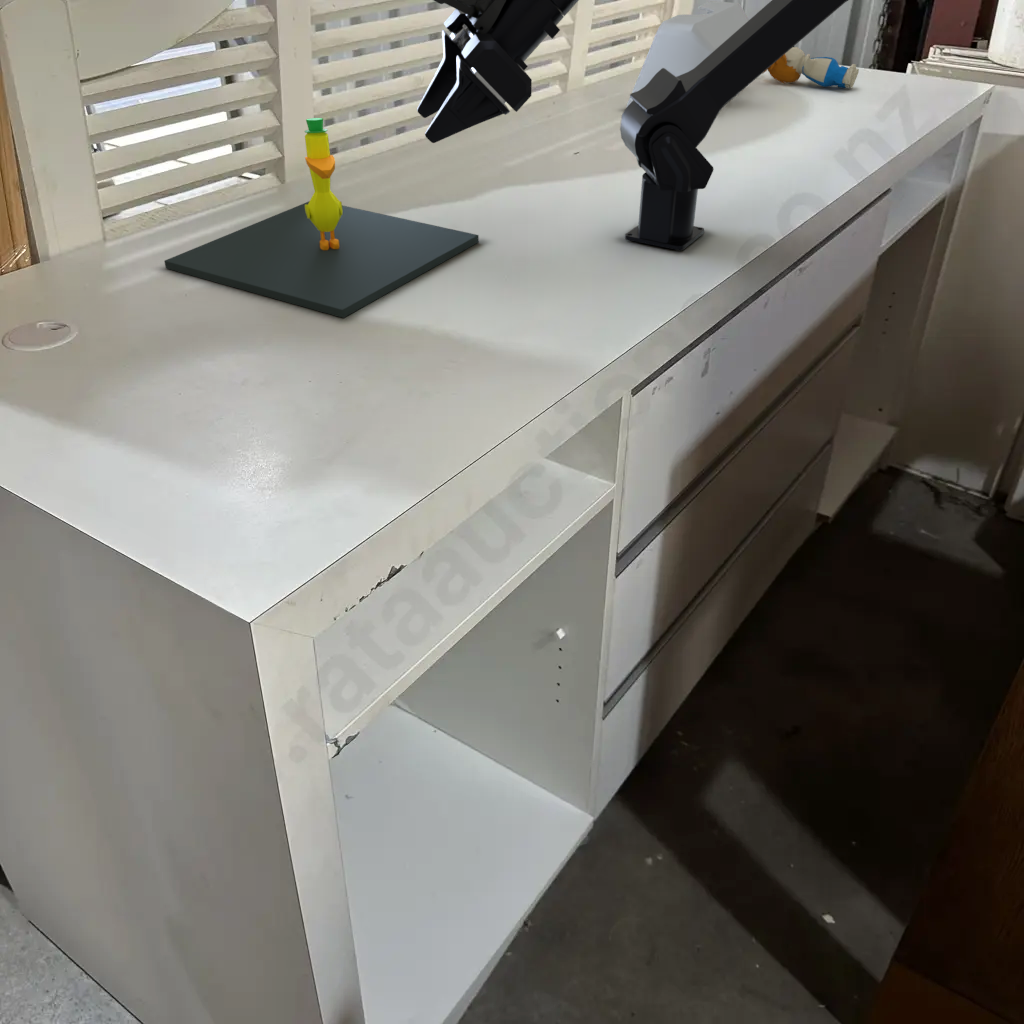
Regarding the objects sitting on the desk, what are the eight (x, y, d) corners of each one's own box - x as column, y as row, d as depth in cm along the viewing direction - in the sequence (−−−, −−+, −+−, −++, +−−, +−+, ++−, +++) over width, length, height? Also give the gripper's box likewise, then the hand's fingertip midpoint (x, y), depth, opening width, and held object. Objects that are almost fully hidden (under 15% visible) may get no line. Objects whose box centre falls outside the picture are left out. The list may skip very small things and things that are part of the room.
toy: (854, 50, 149) (764, 30, 155) (839, 91, 151) (751, 69, 157) (864, 68, 160) (779, 48, 165) (850, 106, 162) (767, 85, 167)
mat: (343, 318, 83) (342, 309, 83) (165, 268, 92) (163, 260, 92) (478, 242, 99) (478, 234, 98) (314, 206, 108) (314, 198, 107)
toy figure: (353, 256, 93) (341, 128, 86) (316, 261, 92) (301, 131, 85) (341, 233, 98) (328, 110, 91) (306, 237, 97) (290, 113, 90)
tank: (726, 124, 138) (739, 29, 131) (623, 111, 144) (630, 20, 137) (771, 90, 156) (784, 5, 149) (677, 80, 162) (686, -3, 155)
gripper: (463, -91, 88) (355, 43, 93) (492, -74, 73) (360, 85, 78) (545, 3, 94) (438, 124, 99) (587, 36, 79) (459, 178, 84)
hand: (424, 126), depth 90 cm, fingers open, 9 cm apart
